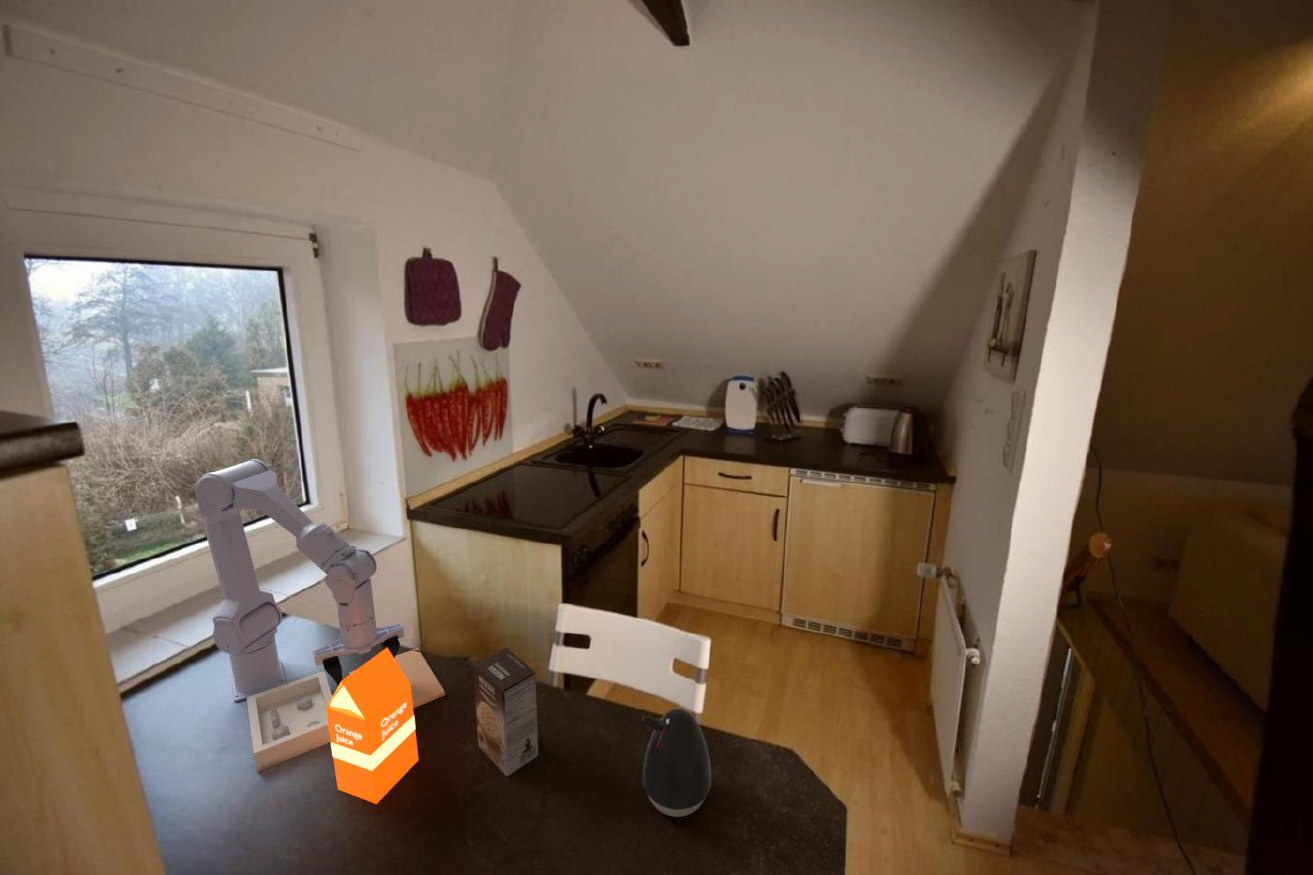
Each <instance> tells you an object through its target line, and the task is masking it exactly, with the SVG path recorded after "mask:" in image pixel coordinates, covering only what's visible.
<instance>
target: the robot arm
mask: <svg viewBox="0 0 1313 875" xmlns="http://www.w3.org/2000/svg"><path fill="white" fill-rule="evenodd" d="M278 479H279V478H278V474H277V473H276V472H274V470H272V469H271V468H270V467H269V466H268V464H267V463H265V461H264V462H263V460H260V459H258V458H257V459H256V458H255V459H253V458H252V459H248V460H246V461H245V462H241V463H237V464H236V465H233V466H229V467H226V468H223V469H220V470H216V471H213V472H207V473H205V474H203V475H202V476H201V477H200V478H199V479H198V480H197V481H196V483H195V484H193V487H192V488H193V490H194V493H195V498H196V501H197V505H198V508H199V513H200V517H201V521H202V524H203V528H204V531H205V535H206V538H207V543H208V546H209V550H210V553H211V554H210V555H211V557H212V560H213V561H212V562H213V564H214V569H215V572H216V576H217V579H218V583H219V587H220V590H221V594H222V597H223V601H222V603H221V604H220V606H219V608H218V609H217V610H216V612H215V613H214V615H213V616H212V621H213V622H212V623H213V630H212V631H213V632H212V638H213V642H214V644H215V646H216V647H217V648H218V649H219V650H220V651H222V652H223V653H225V654H228V656H229V661H230V665H231V667H230V668H231V672H232V674H231V682H232V692H233V693H232V695H233V701H234V702H239V701H242V700H247V697H250V696H252V695H255V694H258V693H261V692H264V691H267V690H270V689H273V688H276V687H279V686H282V685H285V684H287V683H286V679H285V674H284V669H283V665H282V661H281V659H280V658H279V653H278V648H277V642H276V637H275V635H277V633H278V626H280V625H281V623H282V622H283V612H282V611H281V608H280V606H279V605H278V604H277V602H276V600H275V598H274V594H273V593H271V592H268V591H266V590H261V589H260V587H259V582H258V579H257V575H256V570H255V566H254V563H253V562H254V561H253V558H252V554H251V552H250V548H249V547H250V546H249V542H248V540H247V536H246V532H245V527H244V524H243V518H242V515H241V512H242V511H244V510H245V511H246V510H247V511H250V510H251V511H252V510H260V511H261V512H262V513H264V515H266V516H267V517H269V518H270V519H272V520H273V521H274V522H276V523H277V524H278V525H279V526H281V527H282V528H283V529H285V531H288V532H289V534H292V535H293V536H294V537H295V538H296V541H295V542H296V549H297V550H299V551H300V553H302V554H303V555H304V556H305V557H306V558H308V559H309V560H310V561H311V562H312V563H313V564H315V566H316V567H318V568H319V569H320V570H321V571H322V572H323V573H324V574H326V576H324V577H323V578H324V582H325V585H326V586H327V588H328V589H329V590H330V592H331V593H332V598H333V599H334V601H335V603H336V609H337V617H338V623H339V624H338V625H339V631H340V637H341V638H339V639H338V640H337V639H336V641H333V642H332V643H330V644H328V645H326V646H323V647H321V648H318V649H316V650H313V651H312V653H313V659H314V663H315V666H316V667H319V666H321V665H323V668H324V671H325V672H326V674H327V675H329V676H330V677H331V678H332V680H334V682H335V683H336V685H337V687H338V686H339V684H340V683H341V681H342V680H344V679H343V668H342V665H341V662H340V661H341V660H340V658H339V657H342V656H345V655H350V654H356V653H357V654H358V655H363V654H366V653H368V652H371V651H372V648H374V647H375V646H377V645H379V644H380V646H381V652H382V651H383V650H384V649H386V648H387V647H388V649H389V651H390V652H391V654H392V656H393V657H394V658H395V656H397V655H398V651H399V650H400V646H401V643H400V642H401V641H399V639H402V638H404V637H405V629H404V626H403V625H402V623H401V622H400V623H396V624H393V625H387V626H386V625H385V626H381V627H380V626H379V627H377V620H376V612H375V605H374V604H375V603H374V594H373V587H372V579H371V578H372V577H373V575H375V573H376V571H377V569H378V568H377V562H376V559H375V557H374V556H373V554H371V552H370V551H369V550H367V549H366V548H362V547H356V546H355V545H350V544H349V543H347V541H345V540H344V539H343V538H342V537H341V536H340V535H339V534H337V533H336V532H335V530H334V529H333V528H332V527H330V526H328V525H327V524H326V523H324V522H323V523H320V522H319V523H318V522H313V521H312V520H311V518H309V517H308V515H306V513H305V512H303V510H301V508H300V507H299V506H298V505H297V504H296V503H295V502H294V501H293V500H292V499H291V498H290V496H288V495H287V493H285V492H284V491H283V489H282V488H281V487H280V486H279V483H278V482H279V480H278Z"/></svg>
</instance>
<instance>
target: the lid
mask: <svg viewBox="0 0 1313 875" xmlns="http://www.w3.org/2000/svg"><path fill="white" fill-rule="evenodd" d="M412 650H413V651H412ZM414 650H418V651H420V650H419V648H418V647H417V648H414V649H411V650H409V651H405V652H402V653H399V654H396V656H395V658H394V659H395V660H396V662H397V664H398V665H399V667H400V668H401V670H402V671H403V673H404V675H405V676H406V678H407V679H408V681H409V682H410V684H411V693H412V703H413V709H415V708H418V707H420V706H423V705H425V704H427V703H430V702H432V701H434V700H437V699H440V698H442V697H444V696H446V692H445V690H444V688H443V686H442V684H441V683H440V681H439V680H438V678H437V677H436V675H435V674H434V672H433V671H432V669H431V667H430V665H429V664H428V662H427V661H426V659H425V657H424V656H423V655H422V653H421V651H420V652H417V651H414ZM356 670H357V669H354V670H352V671H349V672H348V674H349V675H350V674H352V673H353V672H354V671H356ZM349 675H348V676H349ZM439 697H440V698H439Z"/></svg>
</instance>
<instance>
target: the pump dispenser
mask: <svg viewBox="0 0 1313 875" xmlns="http://www.w3.org/2000/svg"><path fill="white" fill-rule="evenodd" d="M641 723H642V724H643V725H645V726H646V727H648V728H651V729H654V730H653V731H652V734H651V736H650V739H649V741H648V744H647V747H646V751H645V755H644V761H643V768H642V784H643V788H644V791H645V792H646V794H647V796H648V799H649V800H650V802H651V804H652V805H653V806H654V807H655V808H656V809H657V810H658V811H659V812H661V813H662V814H664V815H667V816H670V817H674V818H675V817H678V818H679V817H685V816H688V815H691V814H693V813H694V812H696V811H697V810H698V809H699V808H700V807H701V805H702V804H703V802H704V801H705V799H706V797H707V796H708V794H709V793H710V790H711V785H712V770H711V759H710V755H709V754H710V753H709V750H708V745H707V743H706V739H705V736H704V734H703V732H702V729H701V727H700V725H699V723H698V721H697V720H696V718H695V717H694V715H693V714H692V713H690V711H688V710H686V709H684V708H681V707H680V708H678V707H677V708H671V709H669V710H667V711H666V712H665V714H663V716H662V717H661V718H659V719H657V718H654V717H650V716H647V715H644V716H642V719H641Z"/></svg>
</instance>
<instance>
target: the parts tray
mask: <svg viewBox="0 0 1313 875" xmlns="http://www.w3.org/2000/svg"><path fill="white" fill-rule="evenodd" d="M330 688H331V687H330V685H329V683H328V678H327V676H326V673H325V670H323V671H320V672H318V673H315V674H314V673H313V674H312V675H307V676H305V677H302V678H300V679H297V680H293V681H290V682H288V683H286V684H285V685H282V686H279V687H276V688H273V689H270V690H267V691H264V692H261V693H258V694H255V695H252V696H250V697H247V698H246V701H247V702H246V703H247V704H246V705H247V712H248V717H249V718H248V719H249V727H250V734H251V743H252V750H253V757H254V763H255V768H256V772H257V773H259V772H261V771H265V770H266V769H268V768H271V767H274V766H276V765H278V764H280V763H283V762H286V761H287V760H291V759H292V758H293V759H294V758H295V757H298V756H300V755H303V754H305V753H307V752H309V751H312V750H314V749H317V748H319V747H322V746H324V745H327V744H329V743H331V739H330V733H329V726H328V719H327V712H326V707H327V705H328V703H329V702H330V700H331V698H332V696H333V694H332V690H331V689H330Z"/></svg>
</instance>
